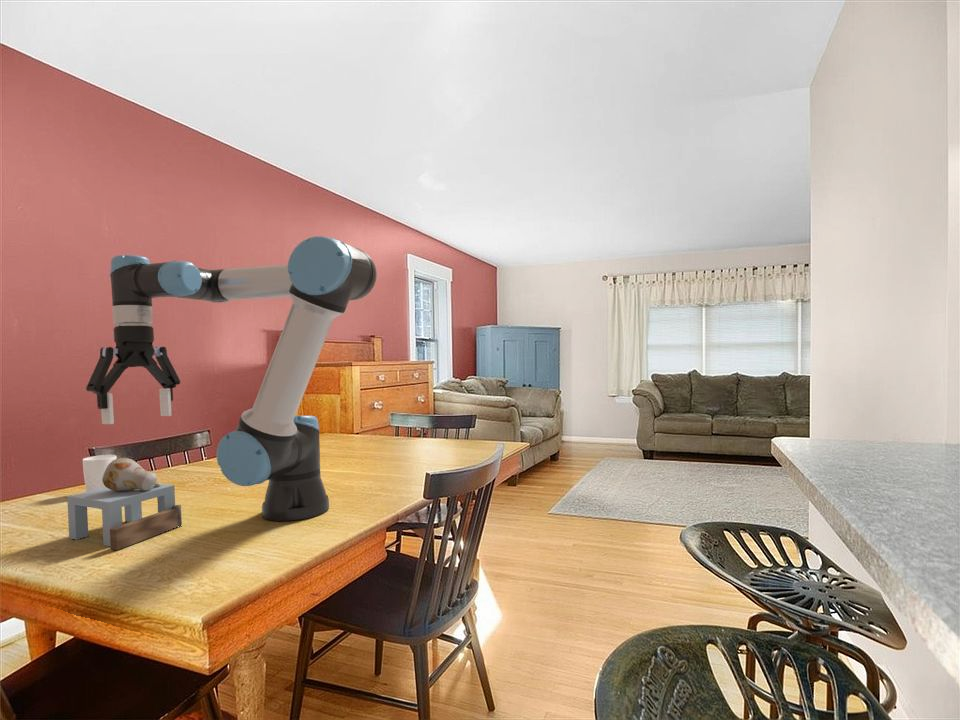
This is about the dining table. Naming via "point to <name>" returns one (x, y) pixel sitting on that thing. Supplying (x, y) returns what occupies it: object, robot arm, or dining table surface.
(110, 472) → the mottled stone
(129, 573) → the dining table surface
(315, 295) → the robot arm
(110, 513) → the stool
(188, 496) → the dining table surface
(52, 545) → the dining table surface
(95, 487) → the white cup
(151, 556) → the dining table surface
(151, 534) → the brown wooden plank
